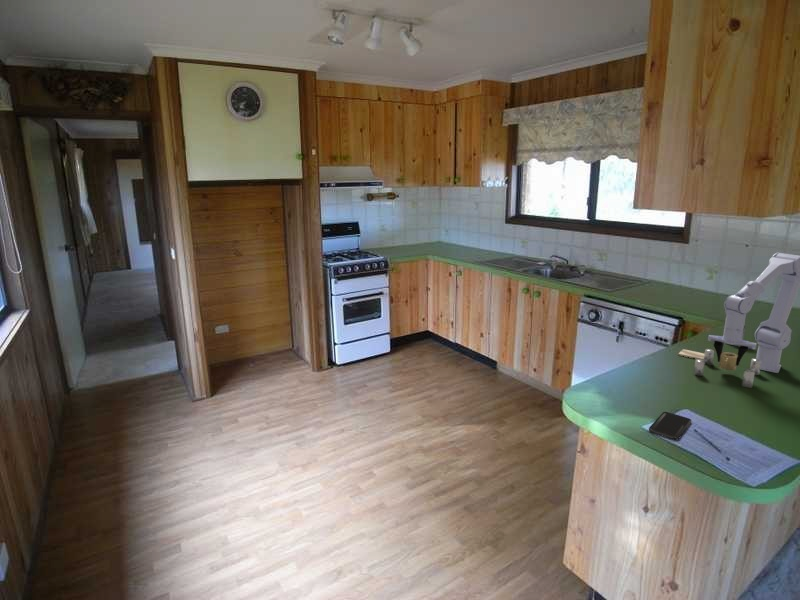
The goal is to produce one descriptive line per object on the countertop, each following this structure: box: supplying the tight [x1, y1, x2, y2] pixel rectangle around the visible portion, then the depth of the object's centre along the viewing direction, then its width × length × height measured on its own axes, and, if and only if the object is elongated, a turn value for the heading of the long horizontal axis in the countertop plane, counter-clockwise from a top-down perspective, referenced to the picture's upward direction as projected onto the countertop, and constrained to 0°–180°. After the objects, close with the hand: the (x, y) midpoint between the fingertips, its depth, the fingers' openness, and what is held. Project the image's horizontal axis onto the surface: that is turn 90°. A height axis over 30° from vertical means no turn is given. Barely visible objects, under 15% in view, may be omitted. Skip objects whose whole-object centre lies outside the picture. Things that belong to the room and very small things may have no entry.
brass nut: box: [718, 351, 738, 371], centre depth 175 cm, size 6×5×5 cm
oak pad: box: [677, 348, 705, 360], centre depth 195 cm, size 7×9×1 cm
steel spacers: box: [692, 348, 762, 389], centre depth 176 cm, size 18×18×6 cm
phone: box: [648, 411, 692, 441], centre depth 140 cm, size 8×1×15 cm
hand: (728, 363), depth 176 cm, fingers closed on brass nut, 5 cm apart
